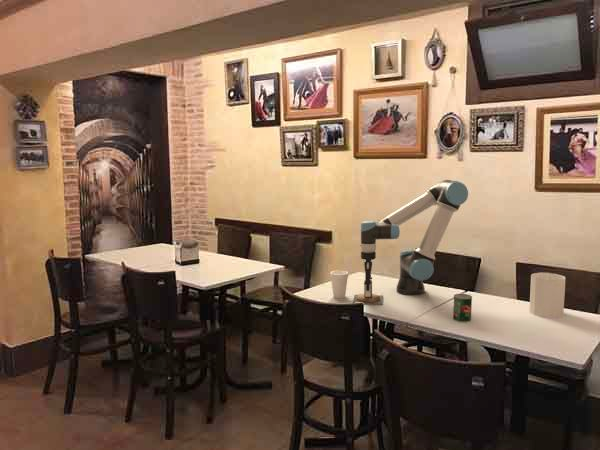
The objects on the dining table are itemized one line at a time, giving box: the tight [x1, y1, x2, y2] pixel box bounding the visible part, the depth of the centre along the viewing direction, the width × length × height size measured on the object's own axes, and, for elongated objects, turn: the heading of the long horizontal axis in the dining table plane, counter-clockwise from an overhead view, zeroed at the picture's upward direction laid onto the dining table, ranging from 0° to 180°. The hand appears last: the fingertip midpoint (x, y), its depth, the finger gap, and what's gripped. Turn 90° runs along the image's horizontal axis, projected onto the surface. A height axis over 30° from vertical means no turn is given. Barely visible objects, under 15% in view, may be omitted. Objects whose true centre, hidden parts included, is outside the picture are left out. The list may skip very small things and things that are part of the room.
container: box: [529, 272, 566, 319], centre depth 238 cm, size 14×14×18 cm
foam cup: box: [329, 270, 349, 299], centre depth 271 cm, size 10×9×13 cm
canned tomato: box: [452, 293, 473, 323], centre depth 232 cm, size 8×8×11 cm
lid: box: [356, 279, 380, 302], centre depth 264 cm, size 12×12×10 cm
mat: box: [352, 294, 384, 306], centre depth 264 cm, size 15×15×1 cm
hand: (368, 293), depth 264 cm, fingers open, 8 cm apart
